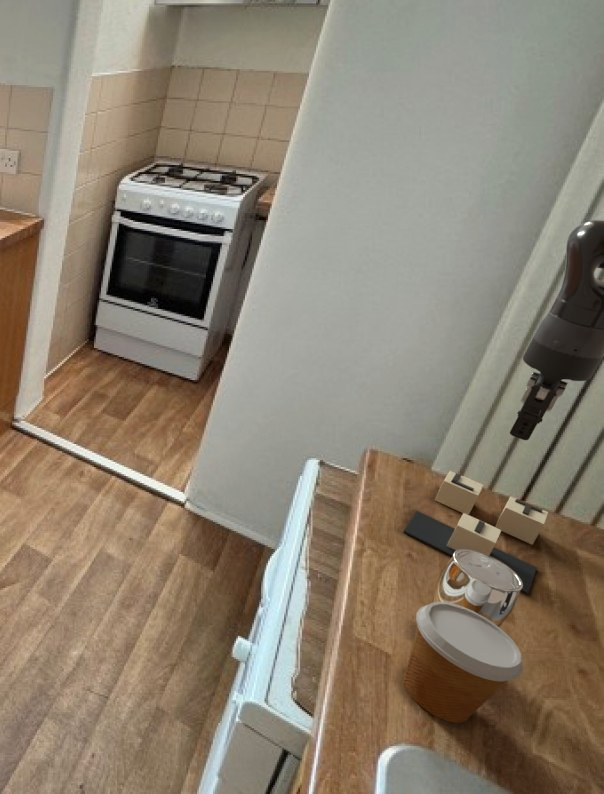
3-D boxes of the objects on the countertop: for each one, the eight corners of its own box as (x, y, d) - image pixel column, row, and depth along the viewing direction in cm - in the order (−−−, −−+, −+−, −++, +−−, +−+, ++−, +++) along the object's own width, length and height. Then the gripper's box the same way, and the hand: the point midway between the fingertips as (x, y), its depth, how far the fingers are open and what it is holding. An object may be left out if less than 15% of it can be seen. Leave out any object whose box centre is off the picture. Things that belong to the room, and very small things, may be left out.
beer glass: (406, 644, 84) (447, 565, 79) (416, 615, 89) (455, 539, 83) (474, 683, 79) (523, 602, 74) (481, 650, 84) (527, 572, 78)
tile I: (490, 551, 99) (502, 528, 98) (484, 564, 97) (496, 541, 95) (453, 533, 103) (464, 511, 101) (446, 546, 100) (457, 523, 98)
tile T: (536, 532, 104) (549, 510, 102) (532, 545, 101) (545, 522, 99) (499, 516, 107) (511, 494, 105) (494, 527, 105) (506, 506, 103)
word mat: (536, 569, 97) (537, 567, 96) (527, 595, 92) (528, 593, 92) (416, 512, 108) (416, 510, 108) (403, 532, 103) (404, 530, 103)
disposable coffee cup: (369, 659, 82) (400, 596, 78) (440, 662, 82) (475, 600, 78) (428, 735, 73) (467, 669, 69) (508, 739, 73) (552, 674, 69)
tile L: (473, 504, 110) (484, 483, 108) (468, 515, 107) (479, 494, 105) (440, 489, 113) (450, 469, 111) (434, 500, 111) (444, 479, 109)
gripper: (599, 368, 88) (548, 456, 94) (609, 341, 96) (561, 424, 102) (526, 347, 93) (483, 431, 99) (541, 322, 101) (500, 402, 107)
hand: (522, 427), depth 101 cm, fingers open, 8 cm apart
